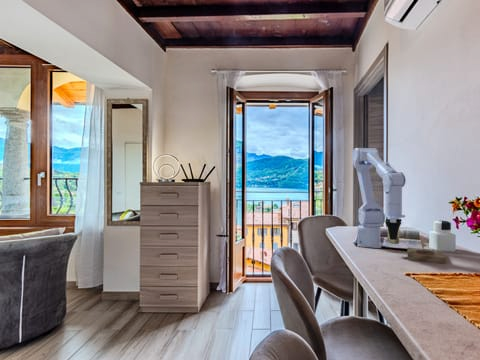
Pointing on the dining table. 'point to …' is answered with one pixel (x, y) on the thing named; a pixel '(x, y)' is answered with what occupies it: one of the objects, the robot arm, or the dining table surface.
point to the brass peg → (393, 240)
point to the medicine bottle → (442, 237)
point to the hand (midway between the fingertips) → (393, 238)
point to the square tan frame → (426, 255)
